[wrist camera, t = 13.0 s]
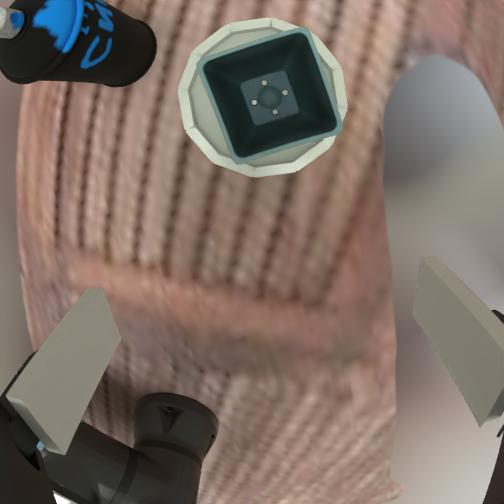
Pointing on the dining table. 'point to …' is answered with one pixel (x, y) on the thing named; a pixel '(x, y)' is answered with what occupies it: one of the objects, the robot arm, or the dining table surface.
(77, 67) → the aerosol can
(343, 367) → the dining table surface
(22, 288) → the dining table surface
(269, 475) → the dining table surface
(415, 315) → the robot arm
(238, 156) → the flower pot
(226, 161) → the saucer
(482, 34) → the dining table surface
